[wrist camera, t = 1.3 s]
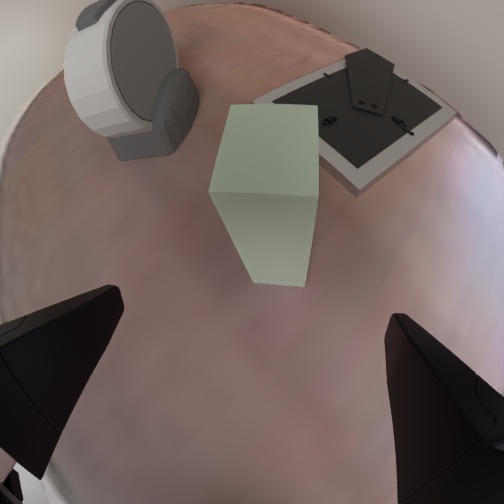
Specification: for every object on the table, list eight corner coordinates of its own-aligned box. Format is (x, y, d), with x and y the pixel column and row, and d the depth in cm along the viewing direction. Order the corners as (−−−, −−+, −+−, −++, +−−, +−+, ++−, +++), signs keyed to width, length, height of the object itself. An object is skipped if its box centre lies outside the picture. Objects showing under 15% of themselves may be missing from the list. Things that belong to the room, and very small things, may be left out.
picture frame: (364, 62, 32) (253, 114, 30) (366, 48, 30) (250, 96, 28) (451, 123, 27) (355, 202, 24) (459, 108, 24) (361, 185, 22)
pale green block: (304, 287, 22) (318, 196, 10) (253, 282, 22) (208, 192, 10) (308, 228, 23) (317, 105, 11) (260, 225, 24) (230, 104, 12)
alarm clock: (144, 90, 35) (96, -5, 18) (208, 78, 33) (172, -34, 16) (104, 175, 29) (14, 65, 12) (181, 166, 28) (101, 13, 11)
